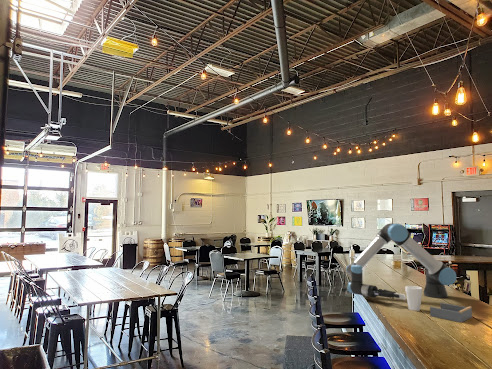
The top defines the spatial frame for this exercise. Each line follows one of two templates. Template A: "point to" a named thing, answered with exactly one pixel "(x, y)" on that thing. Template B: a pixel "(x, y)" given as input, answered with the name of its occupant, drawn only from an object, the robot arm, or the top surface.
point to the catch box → (451, 312)
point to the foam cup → (413, 297)
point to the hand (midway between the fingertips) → (404, 297)
